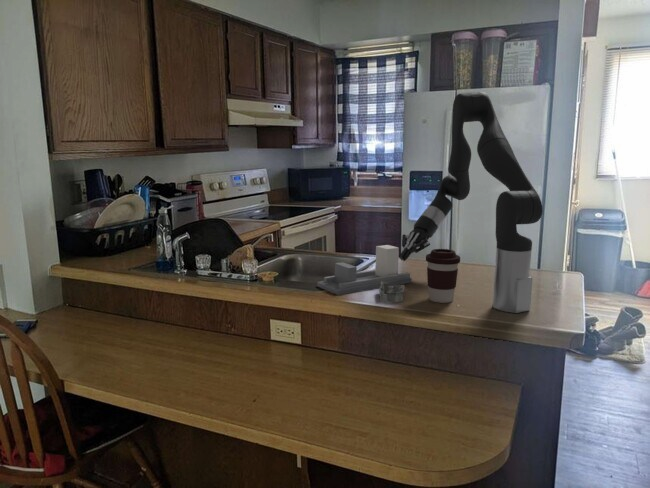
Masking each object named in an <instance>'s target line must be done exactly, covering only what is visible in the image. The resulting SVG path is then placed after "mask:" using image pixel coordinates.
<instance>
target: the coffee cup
mask: <svg viewBox="0 0 650 488" xmlns="http://www.w3.org/2000/svg"><path fill="white" fill-rule="evenodd" d="M425 261H426V262H427V267H426V271H427V272H426V273H427V274H426V275H427V287H428V299H429V300H430V301H431V302H434V303H440V304H441V303H442V304H446V303H452V302H453V301H454V297H455V290H456V289H455V288H456V287H457V281H458V272H459V268H458V265H459V263H460V262H461V256H460V255H458V254H457V253H456V251H455V250H453V249H448V248H435V249H432V250H431V251H430V253H426V255H425Z"/></svg>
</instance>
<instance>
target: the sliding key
mask: <svg viewBox="0 0 650 488" xmlns="http://www.w3.org/2000/svg"><path fill="white" fill-rule="evenodd" d="M399 251H400V248H399V246H398V247H397V246H393V245H390V244H385V245H376V246H375V270H376V271H375V275H377V276H380V277H382V276H388V275H395V274H399V259H400V258H399V256H400V254H399V253H400V252H399Z"/></svg>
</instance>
